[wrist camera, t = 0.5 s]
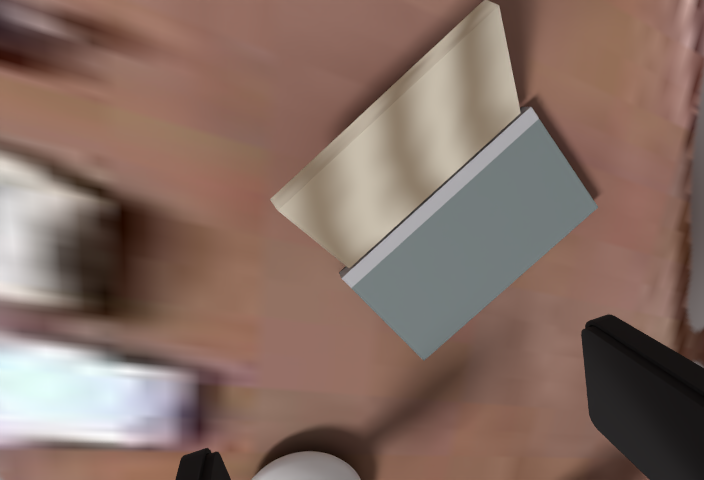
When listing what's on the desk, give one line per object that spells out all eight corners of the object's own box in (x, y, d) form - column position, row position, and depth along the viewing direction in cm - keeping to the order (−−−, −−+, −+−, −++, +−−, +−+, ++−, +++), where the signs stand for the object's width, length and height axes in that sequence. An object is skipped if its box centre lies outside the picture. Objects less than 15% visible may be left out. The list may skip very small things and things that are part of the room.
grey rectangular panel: (521, 106, 36) (530, 106, 35) (587, 204, 39) (598, 207, 38) (339, 272, 37) (341, 278, 36) (419, 353, 40) (423, 360, 39)
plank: (484, -1, 27) (499, 5, 26) (509, 106, 35) (520, 112, 34) (269, 199, 28) (277, 210, 27) (341, 258, 36) (349, 268, 35)
